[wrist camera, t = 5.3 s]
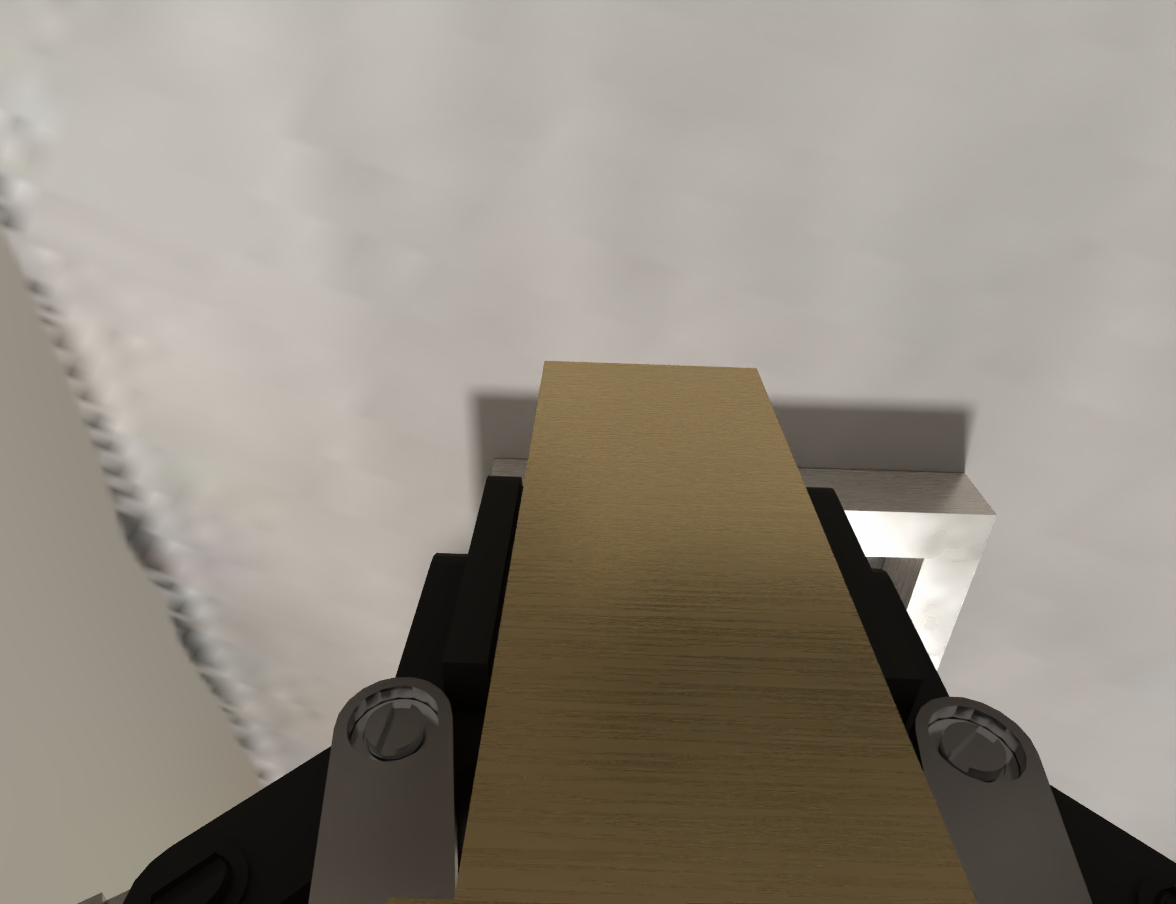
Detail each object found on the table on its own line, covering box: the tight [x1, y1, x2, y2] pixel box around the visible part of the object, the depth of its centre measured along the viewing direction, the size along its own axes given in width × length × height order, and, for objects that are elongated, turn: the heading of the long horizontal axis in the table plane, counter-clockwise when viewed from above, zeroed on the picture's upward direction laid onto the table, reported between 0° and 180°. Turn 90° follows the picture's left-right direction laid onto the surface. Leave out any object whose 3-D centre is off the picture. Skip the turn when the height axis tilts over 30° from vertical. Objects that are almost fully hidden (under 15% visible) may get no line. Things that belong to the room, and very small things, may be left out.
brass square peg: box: [387, 361, 977, 904], centre depth 10 cm, size 5×5×11 cm
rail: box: [490, 459, 997, 671], centre depth 33 cm, size 20×10×3 cm, turn 88°
